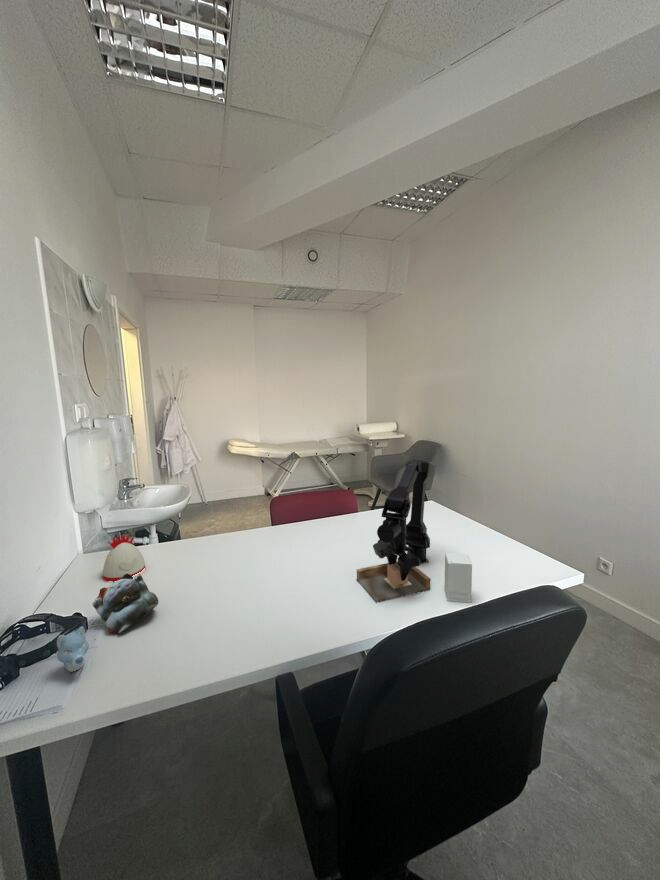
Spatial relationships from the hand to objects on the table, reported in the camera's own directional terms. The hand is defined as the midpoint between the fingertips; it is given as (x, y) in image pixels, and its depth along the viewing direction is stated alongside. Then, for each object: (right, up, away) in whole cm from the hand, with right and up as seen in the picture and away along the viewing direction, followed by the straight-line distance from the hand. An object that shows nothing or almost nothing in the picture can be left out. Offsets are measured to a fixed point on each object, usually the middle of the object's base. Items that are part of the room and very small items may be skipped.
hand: (397, 575), depth 123 cm
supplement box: (+18, -4, -8) cm, 20 cm away
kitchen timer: (-101, -4, +13) cm, 102 cm away
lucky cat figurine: (-83, -7, -17) cm, 85 cm away
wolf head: (-84, -10, -36) cm, 92 cm away
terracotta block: (0, -2, 0) cm, 2 cm away
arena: (-2, -3, 0) cm, 4 cm away
